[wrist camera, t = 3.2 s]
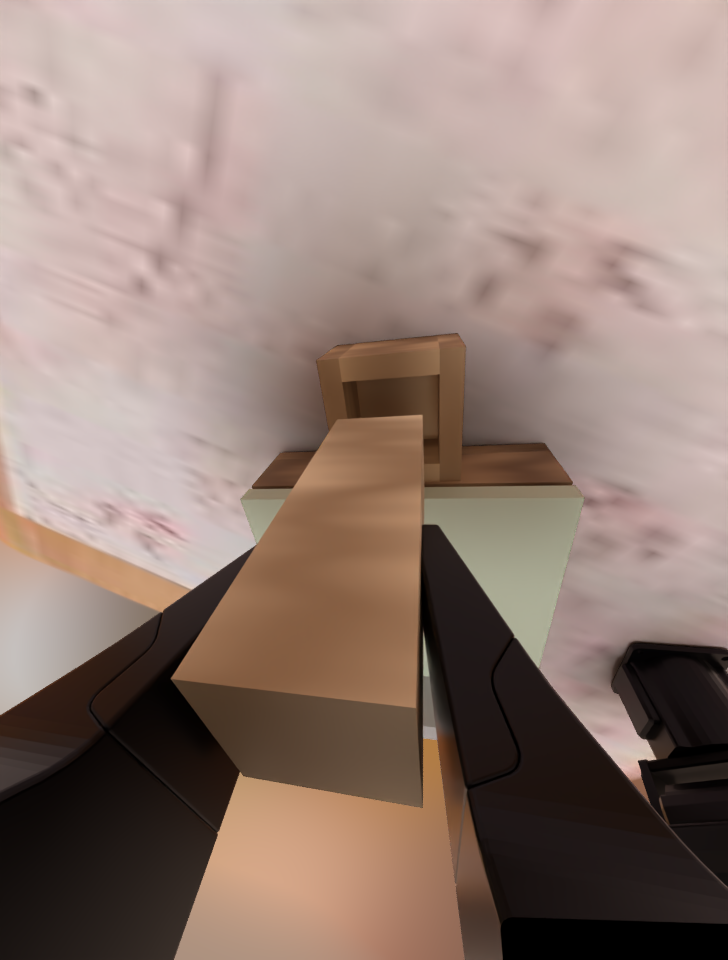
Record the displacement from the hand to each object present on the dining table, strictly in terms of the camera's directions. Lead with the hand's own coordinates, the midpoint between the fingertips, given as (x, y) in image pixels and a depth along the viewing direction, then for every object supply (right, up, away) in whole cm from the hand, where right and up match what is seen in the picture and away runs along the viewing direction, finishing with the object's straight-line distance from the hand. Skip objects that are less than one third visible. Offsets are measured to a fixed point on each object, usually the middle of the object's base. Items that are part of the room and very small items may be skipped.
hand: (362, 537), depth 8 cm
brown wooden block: (+1, +2, +4) cm, 4 cm away
